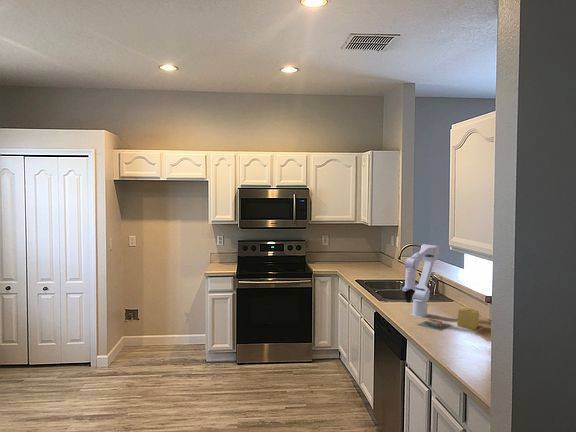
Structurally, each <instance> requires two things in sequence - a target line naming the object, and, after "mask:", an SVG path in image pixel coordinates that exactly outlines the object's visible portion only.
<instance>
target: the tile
mask: <svg viewBox="0 0 576 432" xmlns="http://www.w3.org/2000/svg"><path fill="white" fill-rule="evenodd" d="M424 322H425V326H429V327H433V328H439V327H441V326H442V323H443V321H440V320H437V319H432V318H429V319H426V320H424Z"/></svg>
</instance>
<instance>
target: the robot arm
mask: <svg viewBox="0 0 576 432" xmlns="http://www.w3.org/2000/svg"><path fill="white" fill-rule="evenodd" d="M439 255H440V247H439V246H438V245H434V244H432V245H431V244H425V243H423V244H421V246H420V250H419V251H418V252H415V253H414V254H413V255H411V256H410V257H407V258H406V259H405V261H404V270H405V280H404V286H403V287H401V288H402V290H401V291H402V292H403V293H404V296H405V302H406V303H408V304H409V303H410V304H411V303H412V301H413V303H412V313H410V314H409V315H410V316H413V317H414V316H415V317H418V318H424V317H427V316H429V314H428V305H429V304H428V301H429V299H430V294H431V290H430V288H429V287H428V284H429V280H430V276H431V273H432V270H433V267H434V263H435V261H438V258H439ZM423 260H425V262H424V264H423V269H422V272H421V274H420V278H419V280H418V284H416V278H417V276H416V275H417V269H418V268H419V265H420V263H422V261H423Z"/></svg>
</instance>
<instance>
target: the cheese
mask: <svg viewBox="0 0 576 432" xmlns="http://www.w3.org/2000/svg"><path fill="white" fill-rule="evenodd" d="M479 318H480V313H479V310H477V309H475V308H471V307H468V306H464V305H463V306H460V308H459V309H458V313H457V322H456V324H457V325H456V326H457V327H459V328H464V329H465V328H466V329H471V330H477V328H478V327H479V325H480V319H479Z"/></svg>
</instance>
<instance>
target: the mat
mask: <svg viewBox="0 0 576 432" xmlns="http://www.w3.org/2000/svg"><path fill="white" fill-rule="evenodd" d="M417 326H419V327H422V328H423V327H424V328H428V329H431V330H437V331H439V332H442V331H444V330H446V329H448V328H450V327H452V326H453V325H451V324H448V323H443V322H442V326H441V327H439V328H433V327H429V326H425V321H423V322H421V323H418V324H417Z"/></svg>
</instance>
